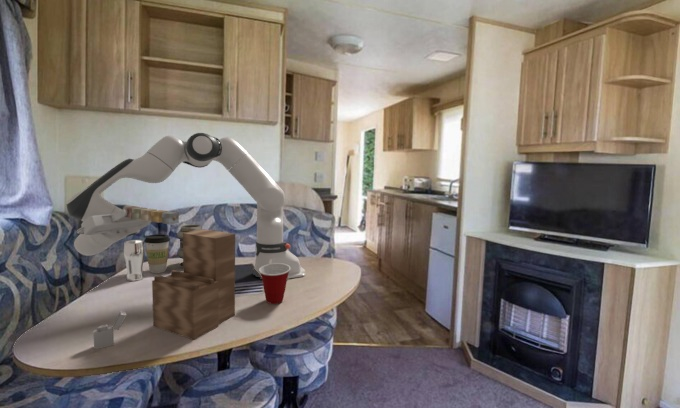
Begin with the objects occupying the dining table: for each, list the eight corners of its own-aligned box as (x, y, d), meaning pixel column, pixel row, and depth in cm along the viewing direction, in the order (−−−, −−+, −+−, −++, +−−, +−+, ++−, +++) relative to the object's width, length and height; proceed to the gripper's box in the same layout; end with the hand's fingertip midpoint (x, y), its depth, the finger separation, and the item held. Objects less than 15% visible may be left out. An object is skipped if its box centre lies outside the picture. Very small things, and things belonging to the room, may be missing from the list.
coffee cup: (139, 272, 147) (138, 237, 146) (157, 266, 157) (156, 233, 155) (158, 275, 145) (158, 239, 143) (175, 268, 154) (175, 235, 153)
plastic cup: (251, 302, 121) (251, 268, 120) (271, 293, 131) (272, 261, 129) (276, 309, 116) (277, 274, 115) (295, 299, 126) (296, 266, 124)
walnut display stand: (153, 326, 101) (151, 237, 99) (199, 305, 117) (198, 228, 114) (193, 339, 95) (193, 244, 92) (237, 316, 110) (237, 234, 107)
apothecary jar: (174, 263, 163) (173, 224, 161) (200, 259, 170) (200, 222, 168) (181, 269, 153) (181, 229, 151) (209, 265, 161) (209, 226, 159)
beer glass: (148, 276, 143) (148, 240, 141) (137, 282, 136) (136, 244, 135) (132, 275, 144) (131, 239, 142) (120, 280, 137) (119, 243, 135)
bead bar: (123, 216, 107) (123, 207, 107) (132, 215, 110) (132, 206, 109) (169, 224, 99) (169, 213, 98) (178, 223, 101) (178, 212, 101)
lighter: (94, 349, 88) (93, 318, 87) (94, 346, 90) (92, 316, 89) (127, 341, 92) (126, 312, 92) (126, 339, 94) (125, 310, 93)
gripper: (70, 224, 104) (94, 204, 98) (135, 216, 122) (159, 198, 116) (77, 244, 103) (102, 225, 97) (142, 232, 121) (166, 216, 116)
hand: (133, 210), depth 107 cm, fingers closed on bead bar, 3 cm apart
